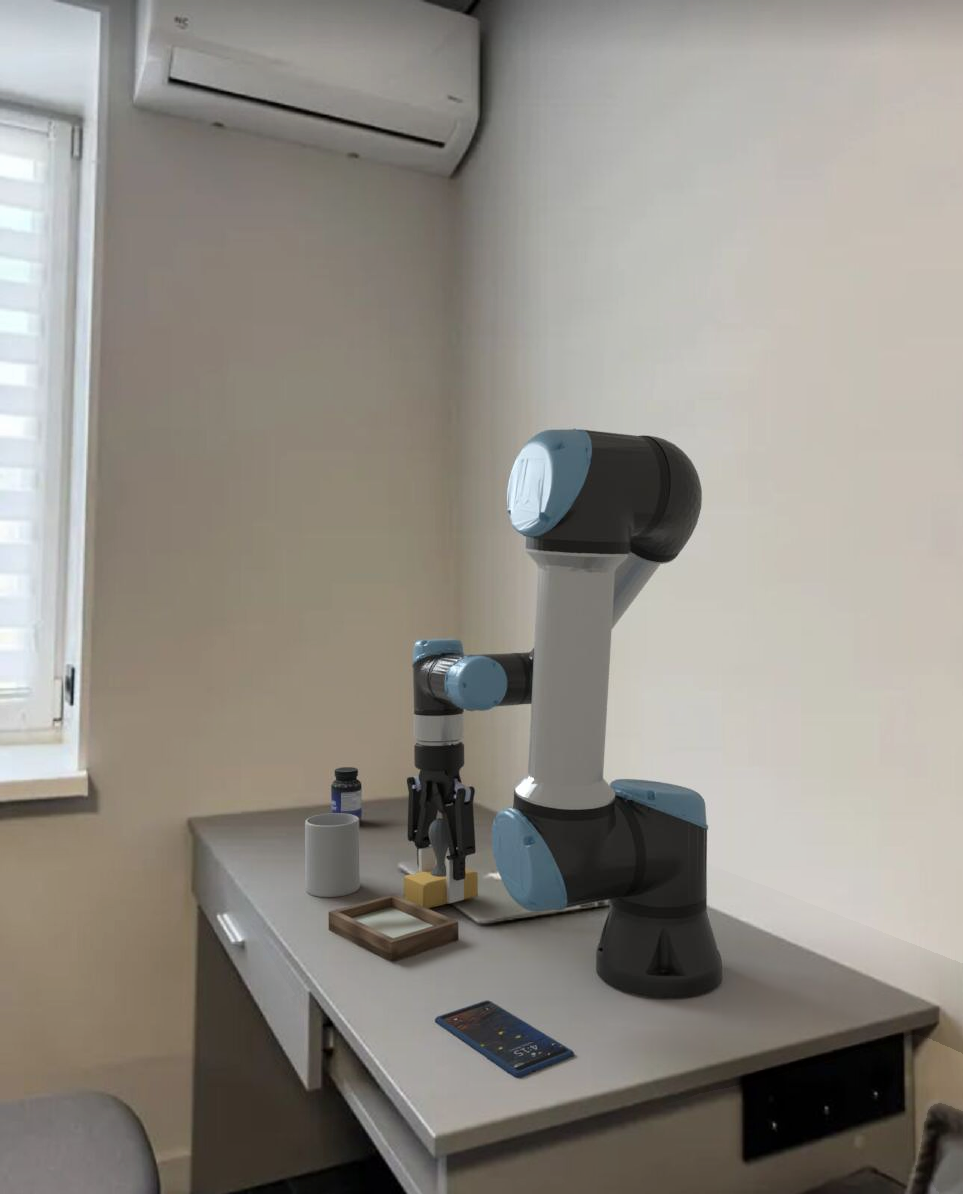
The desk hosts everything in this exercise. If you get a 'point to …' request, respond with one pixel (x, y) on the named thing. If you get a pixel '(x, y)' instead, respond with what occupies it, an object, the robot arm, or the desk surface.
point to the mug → (332, 855)
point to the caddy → (393, 927)
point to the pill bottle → (346, 792)
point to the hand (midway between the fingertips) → (441, 895)
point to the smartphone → (504, 1038)
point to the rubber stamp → (436, 875)
